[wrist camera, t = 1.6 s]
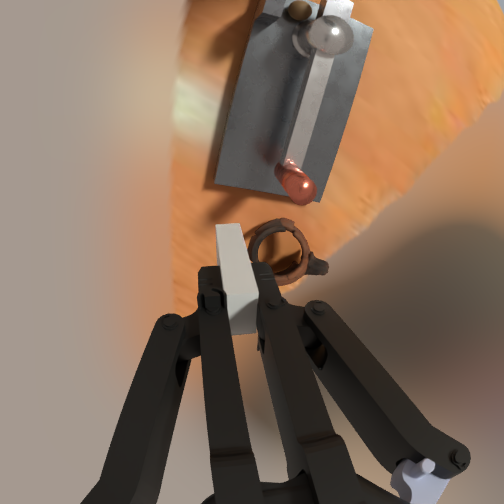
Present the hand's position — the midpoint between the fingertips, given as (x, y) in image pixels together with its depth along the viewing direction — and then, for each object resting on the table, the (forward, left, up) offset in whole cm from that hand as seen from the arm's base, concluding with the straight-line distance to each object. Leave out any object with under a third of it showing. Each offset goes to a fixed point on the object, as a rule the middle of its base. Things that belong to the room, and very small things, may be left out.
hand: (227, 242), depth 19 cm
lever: (-12, +7, -16) cm, 21 cm away
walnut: (-21, +5, -17) cm, 27 cm away
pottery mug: (+11, +12, -20) cm, 25 cm away
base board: (-10, +7, -19) cm, 23 cm away
